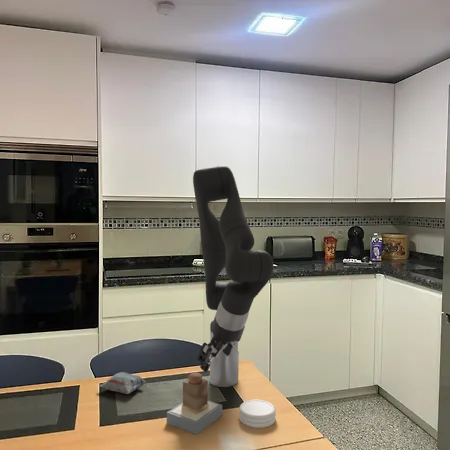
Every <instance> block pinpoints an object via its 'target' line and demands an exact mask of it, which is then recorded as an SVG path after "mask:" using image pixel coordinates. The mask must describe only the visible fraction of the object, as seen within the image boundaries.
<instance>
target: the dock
mask: <svg viewBox="0 0 450 450" xmlns="http://www.w3.org/2000/svg"><path fill="white" fill-rule="evenodd" d="M208 403H209V408H207V409H205V410H204V411H202V412H200V413H199V414H197V415H195V414H192V413H190V412H188V411H185V410H183V409H182V404H183V402H181V403H180V404H178V405H176V406H175V407H173V408H172V409H170V410H168V411H166V424H168V425H170V426H173V427H176V428H179V429H181V430H184V431H186V432H188V433H191V434H194V435H199V433H201V432H202V431H203V430H204V429H206V428H208V427H209V426H210V425H211V424H213V423H214V422H216V421H217V420H218V419H219V418H220V417H222V416H223V404H220V403H217V402H214V401H211V400H209V399H208Z"/></svg>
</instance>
